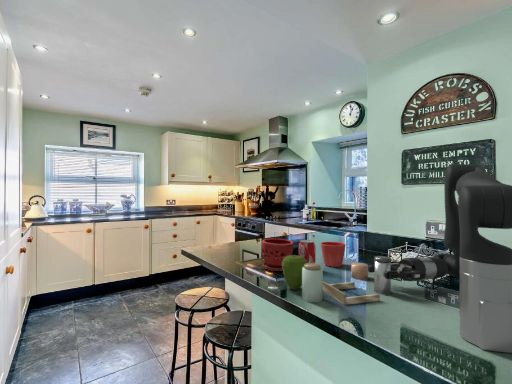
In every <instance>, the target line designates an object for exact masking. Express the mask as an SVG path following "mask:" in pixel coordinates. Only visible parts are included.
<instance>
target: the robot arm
mask: <svg viewBox="0 0 512 384" xmlns="http://www.w3.org/2000/svg"><path fill="white" fill-rule="evenodd" d="M445 169H446V170H445V173H444V184H443V185H444V192H443V193H444V212H445V217H444V218H445V225H444V235H443V236H444V237H443V245H444V247H445V248H446V249H448V250H449V251H451V252H452V253H453V254H450V253H439V254H436V255H434V256H428V257H421V256H418V257H404V258H402V259H400V260H399V262H393V263H392V262H391V271H386V272H385V278H386V279H391V280H393V279H395V280H396V279H397V280H402V281H404V282H416V281H417V282H418V281H427V280H430V279H439V278H443V277H445V276H447V275H449V276H452V277H454V278H457V279H459V335H460V337H462V338H463V340H465V341H466V342H469V343H470V344H473V345H475V346H477V347H479V348H480V349H481V350H484V351H492V352H500V353H509V354H512V247H509V246H507V245H504V244H500V243H498V242H494V241H493V240H490V239H487V238H486V237H485V236H483V235H481V234H480V232H479V228H482V229H494V230H495V229H499V230H510V229H512V184H511V185H510V184H506V183H503V182H501V181H499V180H498V179H496V178H495V177H493V176H492V175H490V174H489V173H488V172H487V170H486V169H485V167H484V166H482V165H480V164H470V163H469V164H468V163H464V164H462V163H451V164H449V165H448V166H447V167H446V168H445ZM456 194H457V196H458V198H457V200H456ZM374 270H375V264H372V265H371V264H370V265H369V264H368V273H374Z"/></svg>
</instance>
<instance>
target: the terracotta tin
mask: <svg viewBox="0 0 512 384" xmlns="http://www.w3.org/2000/svg"><path fill="white" fill-rule="evenodd" d="M368 266H369V264H368V263H364V262H351V264H350V277H351V278H352V279H355V280H358V281H359V280H360V281H366V280H368V279H369V272H368Z"/></svg>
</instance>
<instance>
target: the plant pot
mask: <svg viewBox="0 0 512 384" xmlns="http://www.w3.org/2000/svg"><path fill="white" fill-rule="evenodd" d="M293 251H294V242H293V241H292V240H290V239H284V238H265V239H264V238H263V239H262V241H261V254H262V259H263V261H264V262H262V267H263V269H265V270H266V269H268V270H267V271H269V270H272V271H271V272H274V271H283V270H282V261H283V259H284V258H285V257H286V256H289V255H293Z"/></svg>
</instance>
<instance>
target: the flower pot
mask: <svg viewBox="0 0 512 384" xmlns="http://www.w3.org/2000/svg"><path fill="white" fill-rule="evenodd" d="M320 249H321V254H322V259H323V264H325V265H324V266H326V265H327V266H326V267H329V266H331V267H332V268H336V267H337V268H339V267H342V266H343V262H344V257H345V251H346V243H344V242H339V241H322V242H320ZM331 267H330V268H331Z"/></svg>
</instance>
